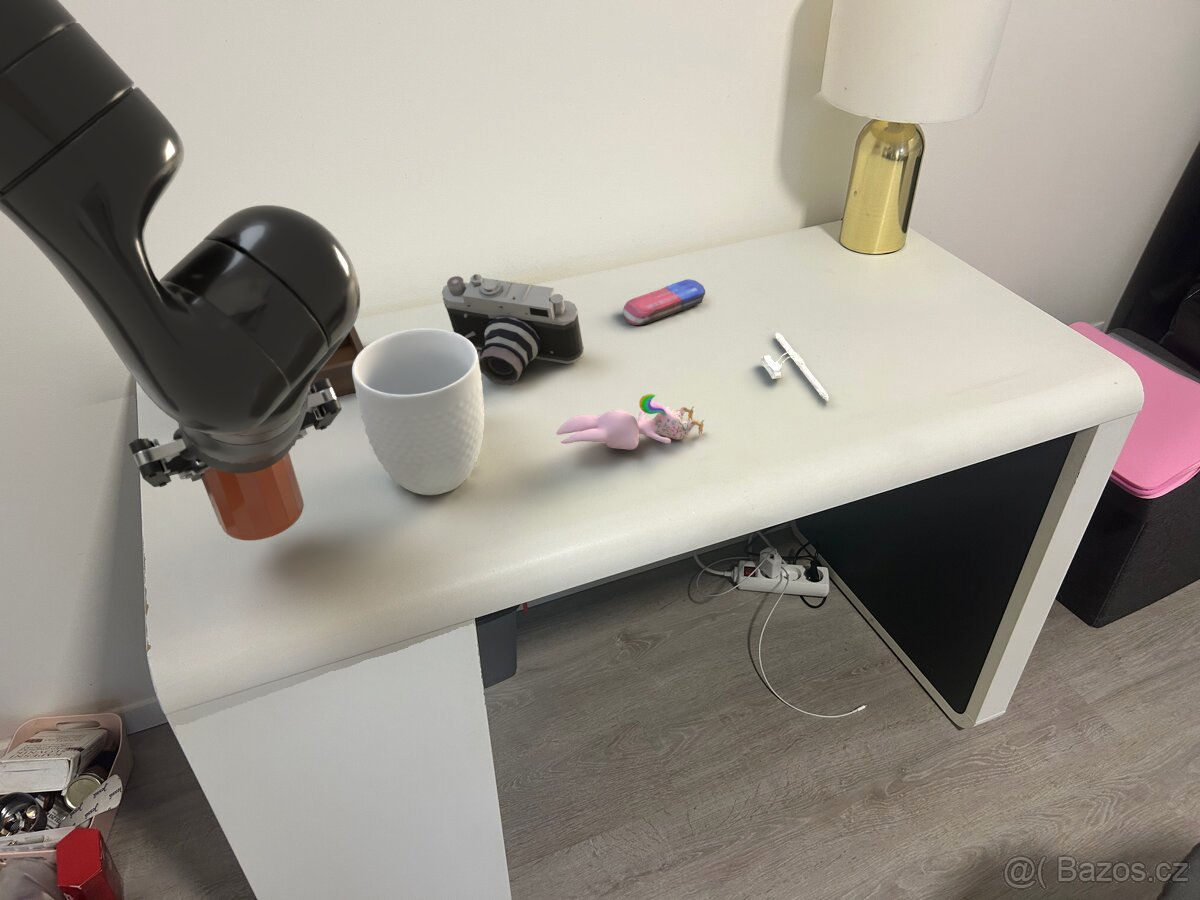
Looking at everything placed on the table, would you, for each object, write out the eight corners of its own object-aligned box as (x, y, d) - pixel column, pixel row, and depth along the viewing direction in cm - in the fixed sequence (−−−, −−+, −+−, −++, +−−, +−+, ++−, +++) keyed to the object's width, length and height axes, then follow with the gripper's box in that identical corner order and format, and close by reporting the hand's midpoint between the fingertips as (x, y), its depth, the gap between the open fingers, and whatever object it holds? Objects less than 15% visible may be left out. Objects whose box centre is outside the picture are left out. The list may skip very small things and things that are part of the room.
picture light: (830, 402, 90) (834, 386, 89) (792, 408, 90) (795, 392, 88) (778, 335, 101) (780, 320, 100) (744, 340, 100) (746, 325, 99)
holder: (198, 430, 88) (187, 402, 85) (192, 382, 94) (181, 355, 92) (375, 387, 93) (369, 359, 91) (357, 345, 100) (351, 318, 98)
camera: (435, 381, 97) (412, 319, 89) (462, 327, 101) (443, 264, 93) (565, 403, 93) (553, 341, 85) (587, 346, 98) (578, 282, 90)
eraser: (636, 329, 102) (636, 316, 101) (617, 314, 105) (617, 302, 104) (709, 301, 107) (710, 289, 106) (690, 288, 110) (690, 276, 108)
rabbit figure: (680, 421, 90) (547, 433, 85) (692, 373, 87) (553, 383, 81) (706, 456, 86) (566, 471, 80) (719, 407, 82) (574, 419, 77)
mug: (429, 408, 90) (411, 299, 82) (525, 428, 87) (516, 317, 79) (354, 498, 79) (325, 382, 71) (461, 523, 76) (442, 407, 68)
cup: (224, 550, 67) (189, 462, 61) (217, 498, 71) (183, 412, 66) (309, 526, 69) (283, 439, 63) (297, 478, 73) (271, 392, 68)
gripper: (329, 315, 56) (308, 379, 71) (92, 385, 50) (124, 440, 65) (374, 419, 56) (343, 462, 71) (142, 503, 49) (162, 530, 64)
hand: (239, 451), depth 68 cm, fingers closed on cup, 6 cm apart
